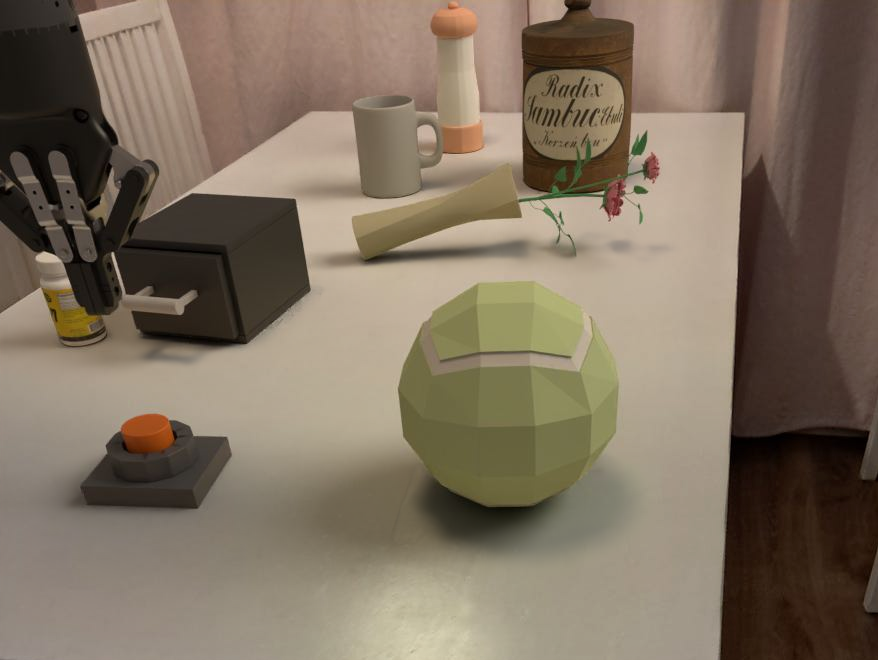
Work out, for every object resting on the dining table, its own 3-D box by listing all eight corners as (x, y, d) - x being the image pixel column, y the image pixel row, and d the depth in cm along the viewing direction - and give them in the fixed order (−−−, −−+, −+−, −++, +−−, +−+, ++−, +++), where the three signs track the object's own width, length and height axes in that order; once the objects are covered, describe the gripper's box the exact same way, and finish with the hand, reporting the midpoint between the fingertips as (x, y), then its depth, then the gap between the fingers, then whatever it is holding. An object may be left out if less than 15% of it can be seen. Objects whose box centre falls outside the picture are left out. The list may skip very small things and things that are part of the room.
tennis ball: (603, 437, 75) (613, 248, 65) (617, 545, 64) (631, 336, 54) (421, 441, 76) (403, 255, 66) (403, 548, 65) (378, 343, 55)
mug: (359, 199, 128) (348, 110, 120) (364, 182, 134) (354, 96, 127) (445, 195, 127) (439, 105, 120) (447, 178, 134) (441, 91, 126)
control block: (86, 505, 71) (71, 465, 69) (129, 452, 77) (116, 414, 75) (198, 508, 70) (186, 468, 68) (232, 454, 76) (222, 416, 74)
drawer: (212, 357, 88) (191, 275, 83) (112, 346, 91) (86, 266, 86) (295, 289, 101) (282, 213, 96) (204, 281, 104) (187, 208, 99)
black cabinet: (247, 343, 93) (225, 245, 86) (140, 332, 96) (112, 237, 90) (311, 289, 103) (295, 198, 97) (212, 281, 106) (191, 192, 100)
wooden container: (515, 193, 126) (512, 0, 112) (530, 164, 137) (529, -16, 123) (624, 194, 124) (635, -4, 110) (630, 164, 135) (641, -20, 120)
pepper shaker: (428, 148, 147) (417, 3, 134) (462, 139, 150) (455, -4, 138) (458, 155, 142) (450, 7, 130) (492, 146, 146) (488, 0, 133)
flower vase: (388, 309, 117) (661, 229, 112) (374, 317, 106) (676, 229, 101) (358, 210, 112) (641, 122, 107) (340, 208, 101) (655, 110, 96)
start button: (119, 456, 70) (112, 435, 69) (138, 433, 73) (131, 412, 72) (164, 457, 70) (158, 436, 69) (181, 434, 73) (175, 413, 71)
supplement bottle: (59, 333, 97) (30, 251, 91) (106, 325, 98) (79, 243, 92) (61, 350, 93) (31, 266, 88) (109, 342, 94) (82, 258, 89)
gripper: (-135, 31, 51) (-11, 333, 63) (87, 21, 50) (173, 333, 61) (-59, 12, 57) (42, 292, 68) (142, 2, 55) (212, 291, 67)
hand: (104, 311), depth 65 cm, fingers closed
